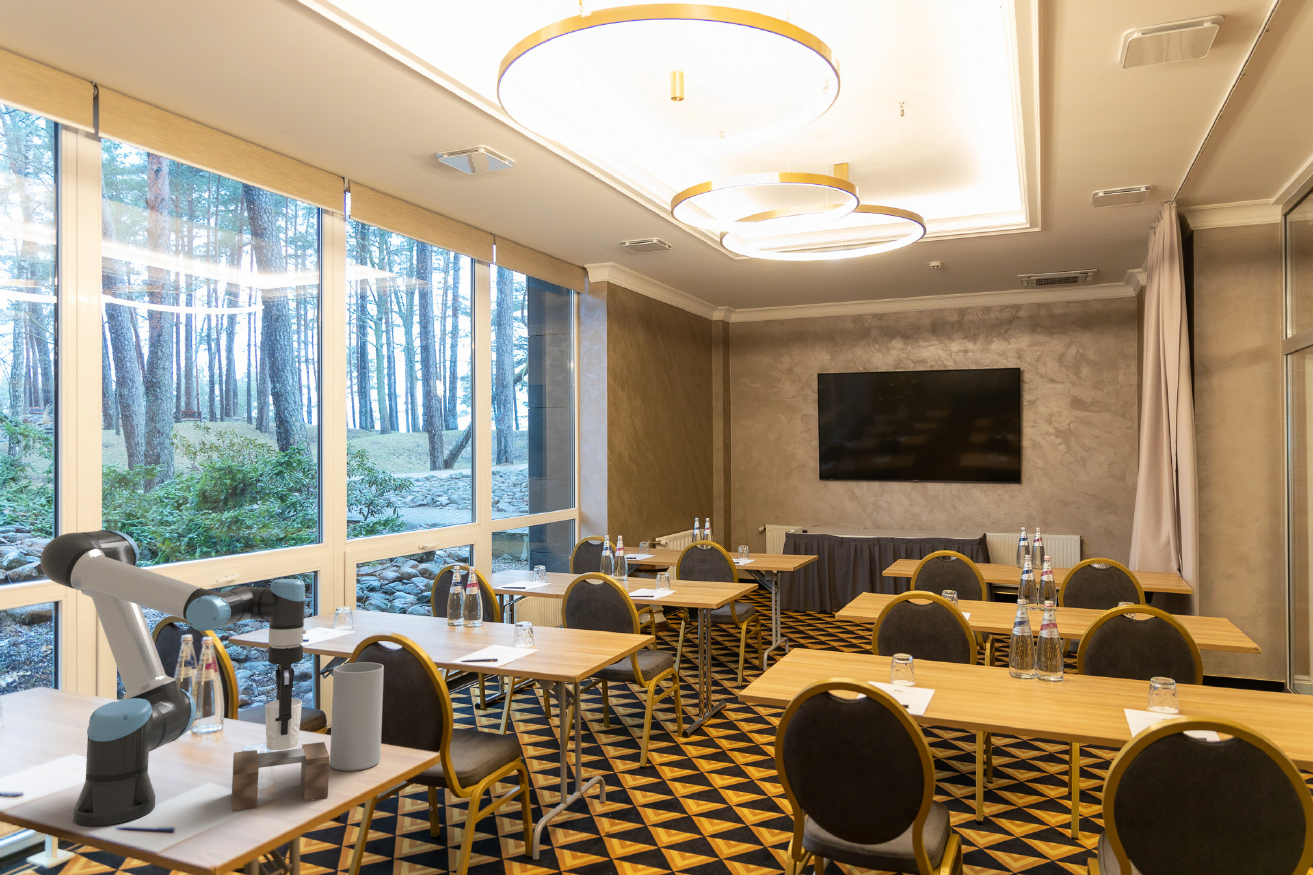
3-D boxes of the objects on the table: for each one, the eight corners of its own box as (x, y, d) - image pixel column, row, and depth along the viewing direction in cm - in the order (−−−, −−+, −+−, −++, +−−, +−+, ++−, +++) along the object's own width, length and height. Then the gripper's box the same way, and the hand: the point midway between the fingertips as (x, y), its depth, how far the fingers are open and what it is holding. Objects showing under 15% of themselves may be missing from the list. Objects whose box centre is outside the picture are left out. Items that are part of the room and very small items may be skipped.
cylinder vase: (361, 774, 210) (364, 674, 212) (319, 768, 214) (323, 670, 215) (389, 758, 222) (393, 664, 224) (349, 753, 226) (353, 660, 227)
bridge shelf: (232, 811, 185) (234, 768, 186) (231, 793, 196) (233, 752, 196) (327, 797, 194) (329, 756, 195) (322, 780, 205) (324, 741, 205)
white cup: (306, 741, 199) (308, 699, 200) (289, 751, 191) (290, 708, 192) (275, 739, 200) (277, 697, 200) (256, 750, 192) (258, 706, 193)
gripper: (306, 651, 190) (302, 753, 188) (299, 636, 208) (296, 729, 206) (270, 654, 186) (266, 758, 185) (266, 638, 204) (262, 733, 203)
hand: (282, 742), depth 196 cm, fingers closed on white cup, 8 cm apart
